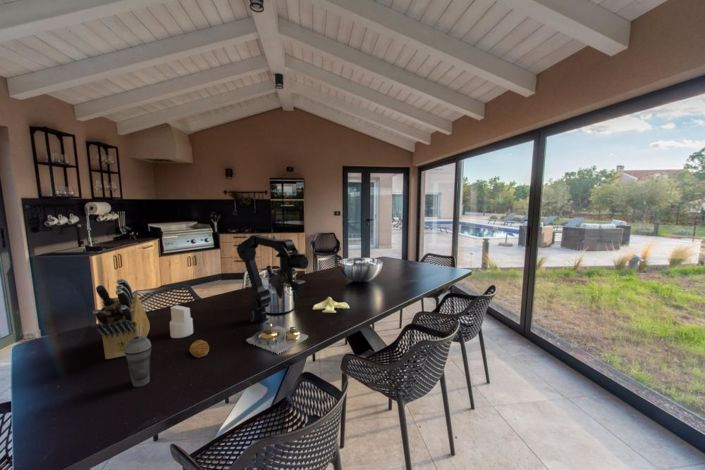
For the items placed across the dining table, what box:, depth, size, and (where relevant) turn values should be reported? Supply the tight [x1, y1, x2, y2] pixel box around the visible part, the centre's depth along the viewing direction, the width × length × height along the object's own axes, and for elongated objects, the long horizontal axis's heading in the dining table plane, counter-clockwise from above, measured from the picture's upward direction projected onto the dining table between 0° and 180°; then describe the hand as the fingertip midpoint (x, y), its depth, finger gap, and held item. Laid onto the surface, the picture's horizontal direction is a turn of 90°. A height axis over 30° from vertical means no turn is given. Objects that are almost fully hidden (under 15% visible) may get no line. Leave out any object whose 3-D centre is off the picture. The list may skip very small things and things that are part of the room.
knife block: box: [92, 278, 151, 360], centre depth 123 cm, size 11×35×31 cm, turn 25°
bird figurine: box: [312, 296, 350, 314], centre depth 173 cm, size 22×19×6 cm
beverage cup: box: [125, 324, 153, 388], centre depth 100 cm, size 7×7×20 cm
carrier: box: [246, 325, 309, 355], centre depth 131 cm, size 19×17×5 cm
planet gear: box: [260, 322, 277, 340], centre depth 131 cm, size 7×7×6 cm
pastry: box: [189, 339, 210, 359], centre depth 121 cm, size 9×7×4 cm
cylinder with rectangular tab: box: [169, 304, 194, 339], centre depth 138 cm, size 9×9×12 cm
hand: (287, 300), depth 143 cm, fingers open, 9 cm apart
